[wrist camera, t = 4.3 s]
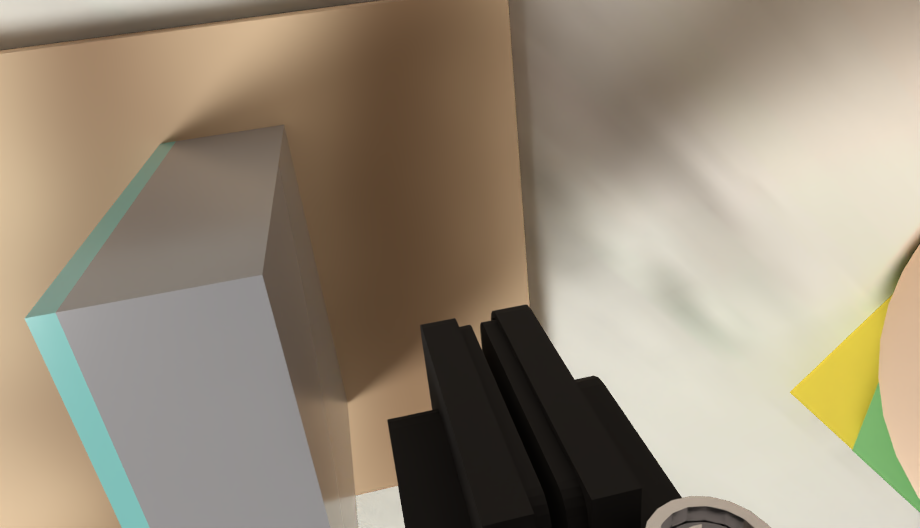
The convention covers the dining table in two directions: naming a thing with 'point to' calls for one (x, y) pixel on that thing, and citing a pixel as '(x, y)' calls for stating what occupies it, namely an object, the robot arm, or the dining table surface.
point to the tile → (204, 346)
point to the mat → (320, 185)
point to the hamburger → (877, 388)
